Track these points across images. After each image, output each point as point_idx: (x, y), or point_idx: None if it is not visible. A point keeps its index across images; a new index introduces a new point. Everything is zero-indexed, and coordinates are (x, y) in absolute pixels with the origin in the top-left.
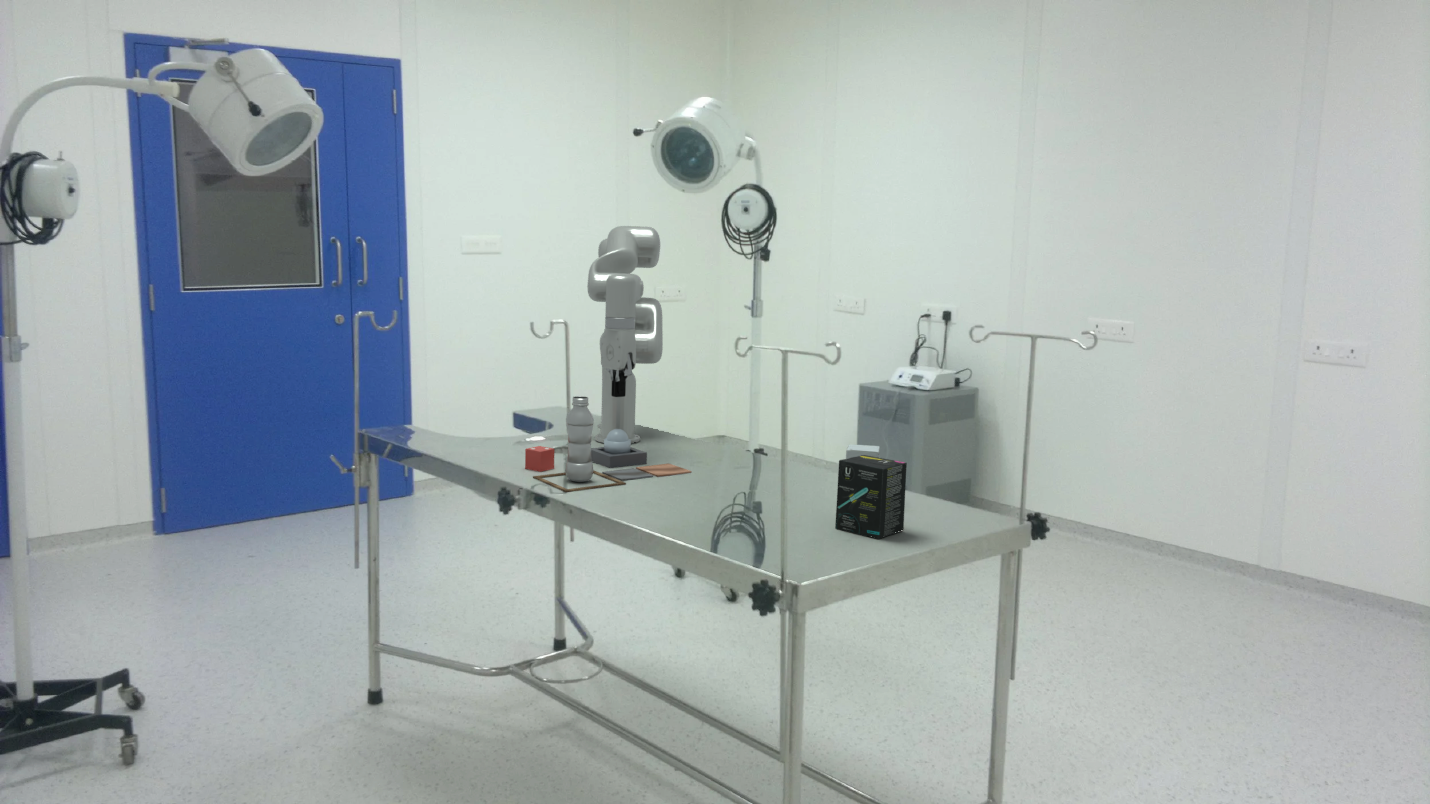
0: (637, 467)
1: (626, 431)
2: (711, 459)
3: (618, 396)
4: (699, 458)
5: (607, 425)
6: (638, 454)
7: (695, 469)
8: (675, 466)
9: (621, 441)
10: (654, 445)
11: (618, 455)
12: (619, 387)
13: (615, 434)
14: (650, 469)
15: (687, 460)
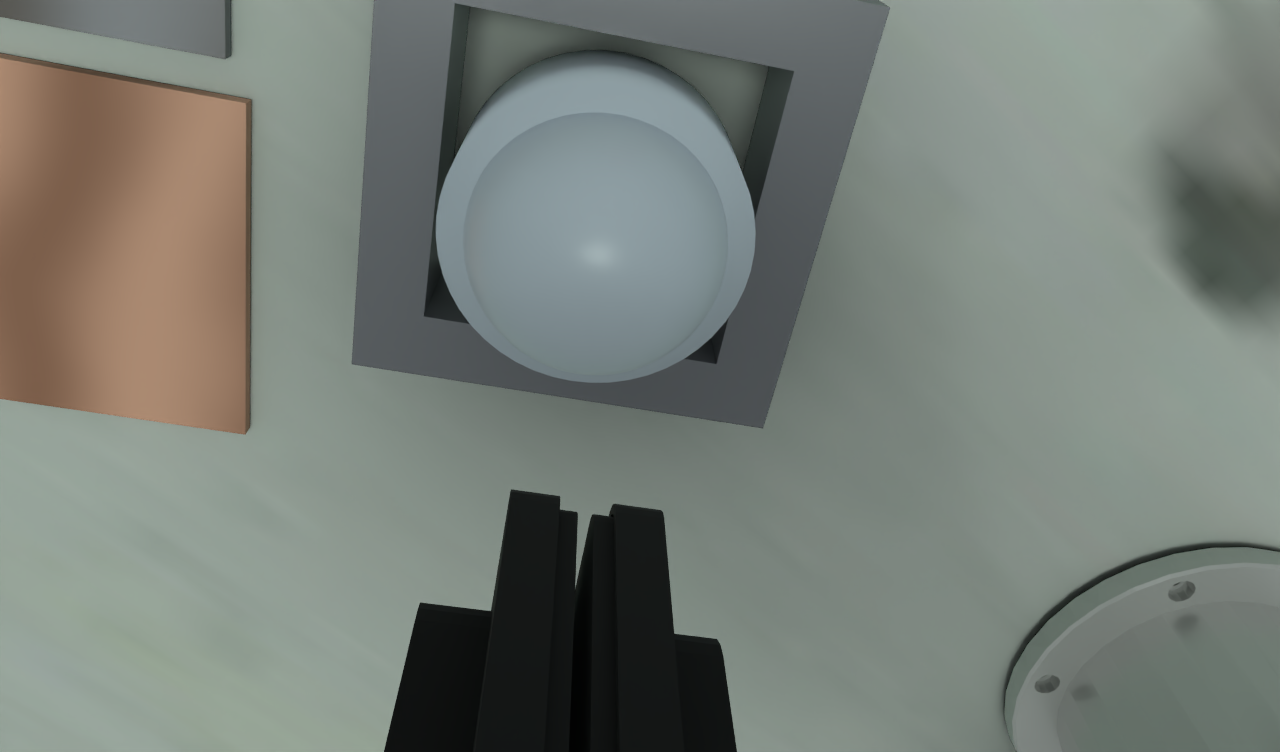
0: (229, 109)
1: (1096, 735)
2: (262, 742)
3: (498, 567)
4: (332, 710)
5: (1276, 689)
6: (358, 269)
7: (7, 475)
8: (111, 399)
9: (470, 202)
10: (859, 749)
11: (377, 31)
12: (393, 729)
13: (528, 187)
14: (92, 148)
15: (320, 620)
